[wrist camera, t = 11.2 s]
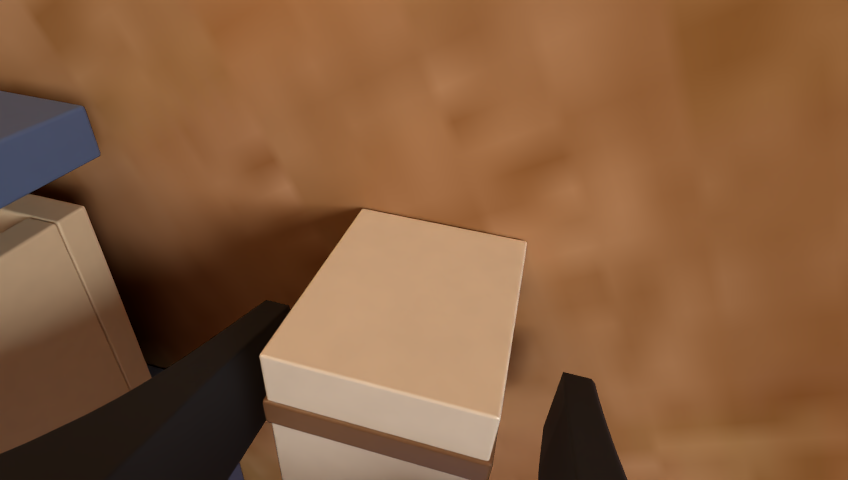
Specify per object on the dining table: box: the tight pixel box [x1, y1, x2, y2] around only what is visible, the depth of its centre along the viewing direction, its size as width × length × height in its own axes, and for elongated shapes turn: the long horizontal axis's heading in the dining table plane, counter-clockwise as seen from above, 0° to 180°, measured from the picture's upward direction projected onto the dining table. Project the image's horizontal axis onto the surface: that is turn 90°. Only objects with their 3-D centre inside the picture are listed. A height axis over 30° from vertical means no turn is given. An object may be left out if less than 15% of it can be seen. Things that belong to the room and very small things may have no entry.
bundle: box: [259, 209, 527, 480], centre depth 11 cm, size 4×6×5 cm, turn 176°
